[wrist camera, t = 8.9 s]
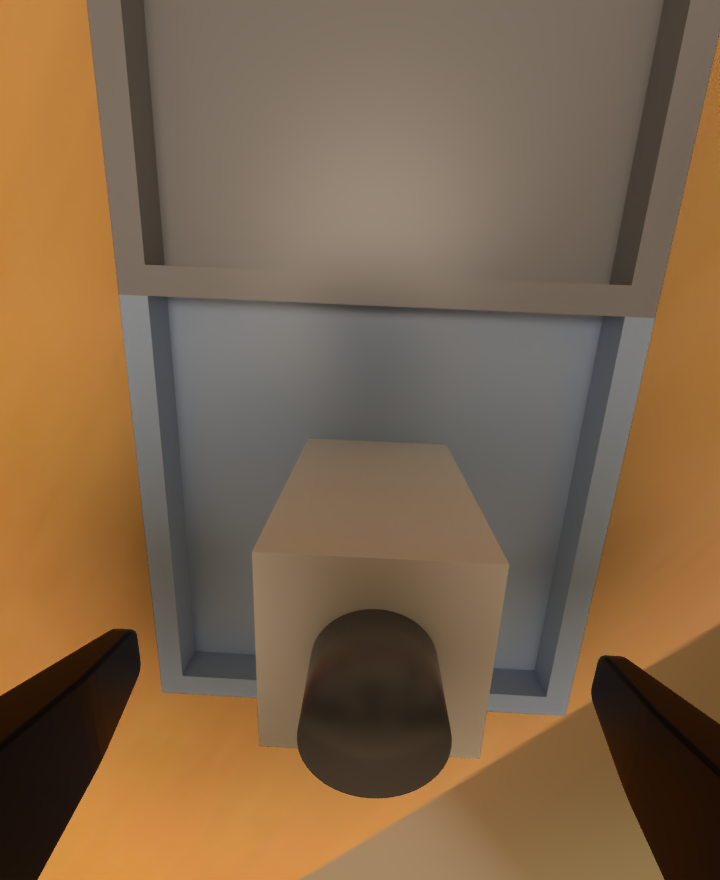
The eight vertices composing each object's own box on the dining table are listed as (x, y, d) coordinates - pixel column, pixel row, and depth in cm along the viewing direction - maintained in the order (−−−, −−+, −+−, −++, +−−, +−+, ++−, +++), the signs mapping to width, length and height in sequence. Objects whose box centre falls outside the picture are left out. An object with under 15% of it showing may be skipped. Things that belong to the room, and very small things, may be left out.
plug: (446, 444, 14) (542, 628, 6) (434, 565, 16) (501, 850, 8) (308, 438, 15) (221, 611, 6) (307, 559, 16) (235, 834, 8)
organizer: (772, -408, 9) (851, -549, 8) (548, 680, 18) (565, 715, 16) (81, -420, 10) (25, -559, 8) (180, 659, 18) (162, 692, 16)
